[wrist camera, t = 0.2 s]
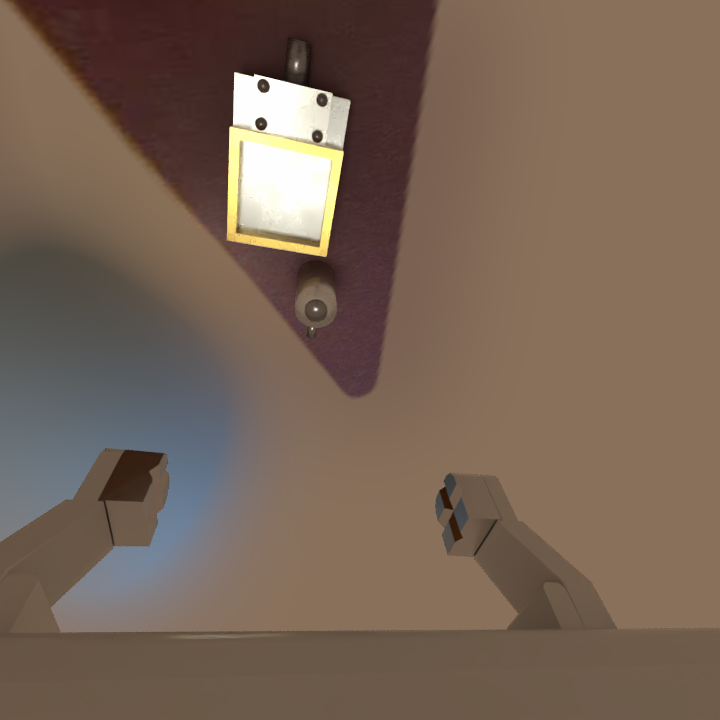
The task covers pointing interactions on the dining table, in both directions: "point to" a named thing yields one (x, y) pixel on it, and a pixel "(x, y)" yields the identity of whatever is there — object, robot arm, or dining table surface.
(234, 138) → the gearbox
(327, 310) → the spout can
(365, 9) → the dining table surface
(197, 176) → the dining table surface
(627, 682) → the robot arm
